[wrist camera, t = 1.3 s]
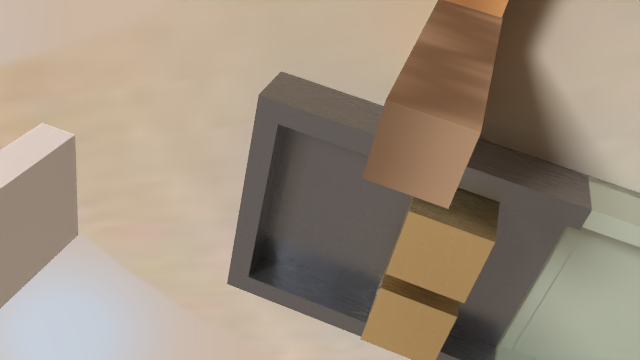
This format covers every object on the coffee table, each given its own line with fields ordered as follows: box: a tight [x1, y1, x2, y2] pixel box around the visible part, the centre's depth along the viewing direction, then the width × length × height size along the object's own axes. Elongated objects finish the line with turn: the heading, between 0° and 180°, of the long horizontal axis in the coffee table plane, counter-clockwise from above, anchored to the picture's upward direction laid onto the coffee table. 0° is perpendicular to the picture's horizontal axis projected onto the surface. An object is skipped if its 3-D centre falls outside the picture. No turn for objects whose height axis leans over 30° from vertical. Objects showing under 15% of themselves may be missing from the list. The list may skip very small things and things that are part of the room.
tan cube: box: [361, 241, 460, 360], centre depth 33 cm, size 4×4×4 cm
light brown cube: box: [385, 188, 500, 303], centre depth 30 cm, size 4×4×4 cm
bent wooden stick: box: [362, 0, 509, 209], centre depth 22 cm, size 3×9×13 cm, turn 168°
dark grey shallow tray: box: [227, 72, 592, 360], centre depth 33 cm, size 16×13×3 cm
